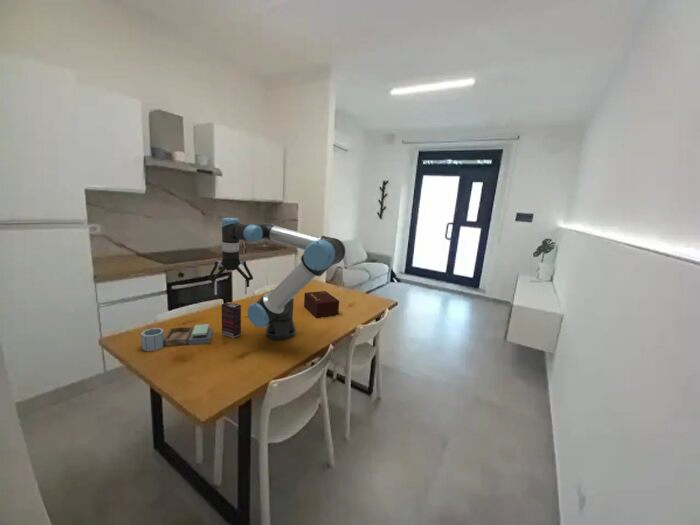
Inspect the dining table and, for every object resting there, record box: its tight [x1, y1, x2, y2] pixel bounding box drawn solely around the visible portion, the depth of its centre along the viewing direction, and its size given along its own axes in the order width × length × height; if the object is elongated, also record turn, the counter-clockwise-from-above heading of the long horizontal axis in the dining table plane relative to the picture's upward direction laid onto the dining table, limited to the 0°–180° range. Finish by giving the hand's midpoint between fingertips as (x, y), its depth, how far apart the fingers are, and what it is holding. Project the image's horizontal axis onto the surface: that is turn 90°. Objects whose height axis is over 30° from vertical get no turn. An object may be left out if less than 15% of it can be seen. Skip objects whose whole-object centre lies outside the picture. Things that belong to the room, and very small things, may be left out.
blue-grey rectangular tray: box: [187, 327, 214, 346], centre depth 144 cm, size 9×12×2 cm
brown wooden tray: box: [163, 326, 194, 348], centre depth 141 cm, size 10×14×3 cm
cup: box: [140, 327, 165, 352], centre depth 132 cm, size 8×8×7 cm
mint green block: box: [192, 323, 210, 336], centre depth 143 cm, size 6×10×4 cm, turn 19°
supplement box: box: [221, 301, 242, 339], centre depth 149 cm, size 9×5×16 cm, turn 64°
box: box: [303, 290, 340, 319], centre depth 191 cm, size 21×16×10 cm
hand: (231, 293), depth 146 cm, fingers open, 13 cm apart
